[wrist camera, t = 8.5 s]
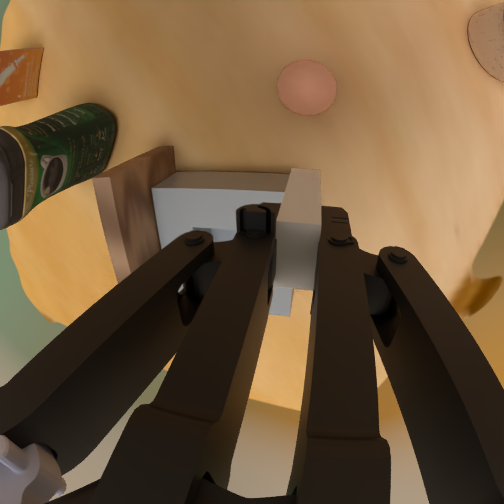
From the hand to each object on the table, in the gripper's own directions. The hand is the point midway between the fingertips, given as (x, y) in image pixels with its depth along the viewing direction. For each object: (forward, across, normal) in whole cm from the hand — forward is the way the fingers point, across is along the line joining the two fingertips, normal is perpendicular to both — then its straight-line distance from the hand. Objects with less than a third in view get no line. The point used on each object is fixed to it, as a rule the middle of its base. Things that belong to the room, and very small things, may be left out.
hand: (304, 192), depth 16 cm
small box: (+16, -40, +14) cm, 46 cm away
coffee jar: (+16, -27, +1) cm, 31 cm away
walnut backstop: (+15, -16, -11) cm, 25 cm away
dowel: (+16, 0, +5) cm, 17 cm away
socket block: (+15, -8, -11) cm, 20 cm away
